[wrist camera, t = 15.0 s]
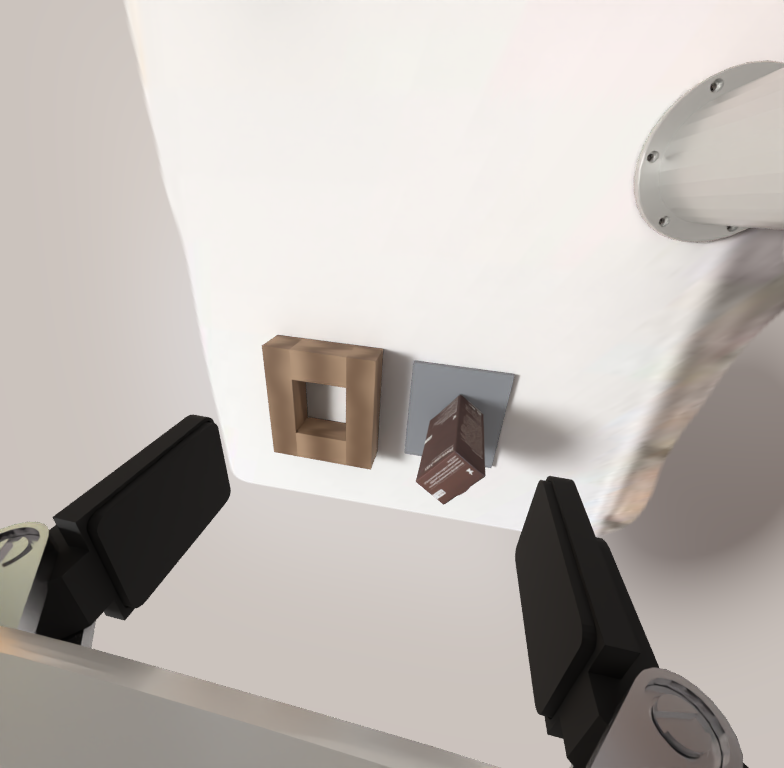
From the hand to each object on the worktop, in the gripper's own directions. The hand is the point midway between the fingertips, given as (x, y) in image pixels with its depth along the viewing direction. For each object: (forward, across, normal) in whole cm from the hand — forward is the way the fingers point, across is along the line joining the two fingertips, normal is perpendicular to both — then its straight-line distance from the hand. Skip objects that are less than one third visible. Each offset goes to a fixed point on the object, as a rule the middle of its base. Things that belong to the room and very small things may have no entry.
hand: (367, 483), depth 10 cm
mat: (+32, -4, +17) cm, 37 cm away
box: (+32, -4, +17) cm, 36 cm away
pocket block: (+32, +13, +17) cm, 39 cm away
